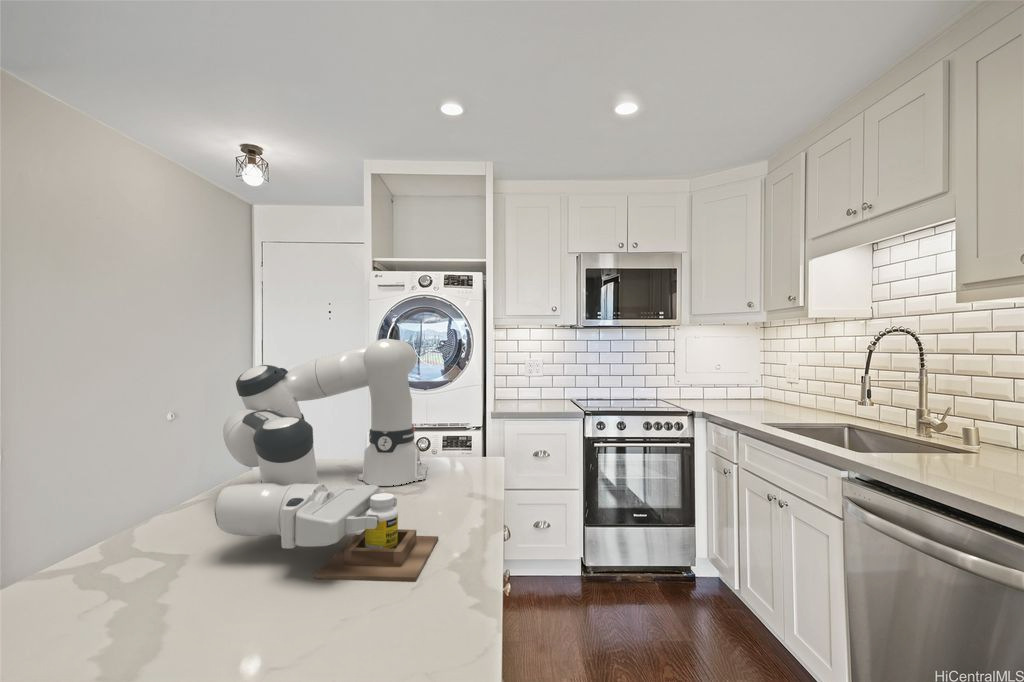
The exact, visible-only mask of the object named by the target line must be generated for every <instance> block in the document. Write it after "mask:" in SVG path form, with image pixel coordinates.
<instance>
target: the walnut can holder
mask: <svg viewBox="0 0 1024 682" xmlns="http://www.w3.org/2000/svg"><path fill="white" fill-rule="evenodd" d="M438 542H439V536H437V535H436V536H435V535H434V536H433V535H417V529H399V528H398V544H397V548H396V549H388V548H365V529H364V530H362V532H361V533H360V534H354V535H353V536H352V537H351V538H350V539H349V540H348V541H347V542H346V543H345V544H344V545H343V546H342V547H341V548H340V549H339V550H337V552H336V553H335V554H334V555H333V556H332V557H331V558H329V560H327V562H326V563H325V564H324V565H323V566H322V567H321V568H319V569H318V570H317V572H315V574H314V579H315V578H316V579H317V578H322V579H321V580H347V579H348V580H349V579H351V580H352V579H353V580H352V581H355V580H356V579H357V580H358V581H385V582H389V581H390V582H391V581H392V582H417V580H418V578H419V576H420V574H421V572H422V571H423V568H424V566H425V565H426V564H427V561H428V559H429V558H430V556H431V554H432V552H433V550H434V549H435V547H436V545H437V543H438ZM354 579H355V580H354ZM317 580H318V579H317Z"/></svg>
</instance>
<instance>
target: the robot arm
mask: <svg viewBox="0 0 1024 682" xmlns="http://www.w3.org/2000/svg"><path fill="white" fill-rule="evenodd" d="M416 365H417V353H416V351H415V350H414V347H413V346H412V345H411V344H410V343H409V342H408V341H407V342H406V341H405V340H400V339H393V338H392V339H391V338H381V339H377V340H376V341H373V342H372V343H371V344H370V345H369V346H364V347H360V348H355V349H350V350H346V351H342V352H338V353H334V354H330V355H328V356H327V355H326V356H324V357H320V358H316V359H313V360H311V361H307V362H305V363H302V364H300V365H297V366H296V367H293V368H292V369H290V370H287V369H286V368H284V367H279V366H276V365H270V364H262V365H261V364H260V365H257V366H254V367H251V368H248V370H246V371H244V372H243V373H242V374H240V375H239V376H238V377H237V380H236V381H235V388H236V391H237V394H238V396H239V397H241V401H242V402H243V404H244V406H245V407H244V408H245V409H240V410H238V411H236V412H234V413H232V414H230V416H229V417H228V418H227V419H226V421H225V423H224V424H223V425H224V426H223V430H222V434H223V435H222V436H223V441H224V443H225V444H224V445H225V446H226V448H227V450H228V452H229V453H230V455H231V456H232V457H233V459H235V461H236V462H238V463H239V464H240V465H243V466H245V467H248V468H257V467H258V468H259V474H260V480H258V481H256V482H253V483H243V484H241V483H240V484H234V485H229V486H226V487H224V488H222V489H221V490H220V492H219V493H218V495H217V498H216V501H215V505H214V517H215V522H216V525H217V527H218V529H219V530H220V531H222V532H224V533H226V534H231V535H236V536H243V537H244V536H245V537H259V538H261V537H268V536H272V535H277V536H280V540H281V548H282V549H286V550H287V549H294V548H296V547H297V546H298V547H326V546H330V545H333V544H336V543H338V542H340V540H342V539H343V538H344V537H345V536H346V535H347V534H348V533H353V532H354V533H355V532H358V531H364V530H365V529H375V528H376V527H377V526H378V524H379V516H378V515H368V516H366V513H367V511H368V510H369V509H370V508H372V507H371V506H370V498H371V496H373V495H376V494H381V492H380V487H392V486H393V485H394V486H400V485H401V484H402V485H406V483H407V484H410V483H409V482H411V483H414V482H413V481H415V482H419V481H418V480H422V481H424V480H423V479H425V480H426V478H425V477H427V473H426V471H427V472H428V464H426V463H422V462H421V451H420V448H419V446H418V445H417V444H416V442H415V431H416V428H415V426H414V425H413V398H412V393H411V389H410V382H409V374H410V373H412V372H413V370H414V368H415V366H416ZM365 387H368V389H369V395H370V411H371V412H370V416H371V417H370V418H371V420H370V421H371V422H370V425H371V426H370V429H369V433H368V437H369V438H368V439H369V441H368V442H369V445H368V446H367V447H366V448H365V449H364V454H363V469H362V473H360V474H358V477H357V480H359V481H362V480H363V482H364V483H365V484H356V485H355V484H354V485H345V486H341V487H339V488H337V489H336V490H334V491H329V490H328V487H327V486H326V485H325V484H324V483H323V484H322V483H319V477H318V472H317V463H316V454H315V450H314V449H315V448H314V430H313V426H312V424H310V423H309V421H306V420H305V416H304V414H303V413H302V412H301V408H300V406H299V404H298V402H304V401H305V402H306V401H315V400H321V399H325V398H329V397H333V396H335V395H341V394H344V393H347V392H350V391H354V390H359V389H361V388H365ZM402 485H401V486H402ZM397 505H398V498H397V497H396V496H394V505H393V507H395V508H396V507H397Z"/></svg>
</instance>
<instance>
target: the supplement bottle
mask: <svg viewBox="0 0 1024 682" xmlns="http://www.w3.org/2000/svg"><path fill="white" fill-rule="evenodd" d="M394 497H395V495H394V494H392V493H388V492H383V493H381V492H380V494H376V495H373V496H371V498H370V506H371V507H372V508H370V509H369V510H368V511H367V513H366V516H368V515H378V516H379V524H378V526H377V527H376V528H375V529H364V530H365V548H388V549H396V548H397V544H398V529H399V525H398V524H399V511H398V508H396V507H393V505H394Z"/></svg>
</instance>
